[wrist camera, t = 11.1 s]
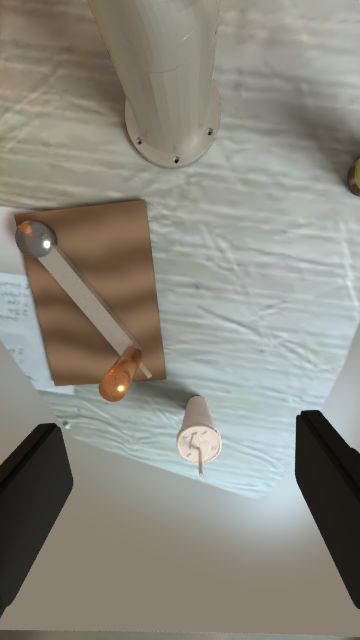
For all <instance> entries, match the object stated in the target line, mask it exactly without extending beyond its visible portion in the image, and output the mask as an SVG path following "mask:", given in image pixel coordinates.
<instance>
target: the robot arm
mask: <svg viewBox="0 0 360 640" xmlns="http://www.w3.org/2000/svg"><path fill="white" fill-rule="evenodd" d="M87 2H88V4H89V7H90V9H91V12H92V14H93V16H94V19H95V21H96V24H97V26H98V28H99V31H100V33H101V36H102V38H103V41H104V43H105V46H106V48H107V51H108V53H109V56H110V58H111V60H112V63H113V65H114V68H115V70H116V73H117V75H118V78H119V80H120V83H121V85H122V88H123V90H124V92H125V95H126V101H125V121H126V126H127V130H128V133H129V135H130V138H131V140H132V142H133V144H134V146H135V147H136V149H137V150H138V151H139V153H140V154H141V155H142V156H143V157H144V158H145V159H146V160H148V161H149V162H151V163H153V164H154V165H157V166H159V167H162V168H169V169H175V168H182V167H185V166H188V165H190V164H192V163H194V162H196V161H197V160H198V159H199V158H201V157H202V156H203V155H204V154H205V152H206V151H207V150H208V149H209V147H210V146H211V144H212V142H213V141H214V138H215V136H216V133H217V130H218V126H219V121H220V112H221V109H220V98H219V93H218V89H217V86H216V84H215V82H214V79H213V78H212V77H213V68H214V59H215V50H216V40H217V31H218V22H219V13H220V4H221V0H87ZM208 133H211V135H208ZM140 142H141V144H140V145H139V143H140ZM176 160H178V163H175V161H176ZM295 476H296V481H297V484H298V486H299V488H300V490H301V492H302V495H303V497H304V499H305V501H306V503H307V505H308V507H309V509H310V512H311V514H312V516H313V518H314V520H315V522H316V524H317V527H318V529H319V530H320V533H321V535H322V537H323V539H324V541H325V544H326V546H327V548H328V550H329V552H330V554H331V556H332V559H333V561H334V563H335V565H336V567H337V569H338V571H339V573H340V576H341V578H342V580H343V582H344V584H345V586H346V588H347V590H348V593H349V595H350V597H351V599H352V601H353V603H354V604H355V606H356V607H357V608H358V609H360V453H359V452H358V451H356V450H355V449H353V448H350V446H349V445H348V444H347V443H346V442H345V441H344V439H343V438H342V437H341V436H340V435H339V433H338V432H337V431H336V430H335V429H334V428H333V426H332V425H331V424H330V423H329V422H328V420H327V419H326V418H325V417H324V416H323V414H322V413H321V412H320V411H319V410H306V411H301V415H297V417H296V449H295ZM72 487H73V477H72V473H71V469H70V464H69V460H68V456H67V452H66V448H65V444H64V440H63V436H62V432H61V429H60V427H57V425H56V424H55V423H45V424H39V425H38V426H37V427H36V428H35V429H34V430H33V431H32V432H31V433H30V434H29V435H28V436H27V437H26V439H24V440H23V442H22V443H21V444H20V445H19V446H18V447H17V448H16V449H15V450H14V451H13V452H12V453H11V454H10V455H9V457H8V458H7V459H6V460H5V461H4V462H3V463H2V464H1V465H0V617H1V615H2V614H3V612H4V610H5V608H6V606H9V605H10V604H11V603H12V602H13V600H14V599H15V597H16V595H17V593H18V591H19V589H20V587H21V586H22V584H23V582H24V580H25V578H26V576H27V574H28V572H29V570H30V569H31V566H32V565H33V563H34V561H35V559H36V557H37V555H38V553H39V551H40V549H41V548H42V546H43V544H44V542H45V540H46V538H47V536H48V534H49V532H50V530H51V529H52V527H53V525H54V523H55V521H56V519H57V517H58V515H59V513H60V511H61V509H62V508H63V506H64V504H65V502H66V500H67V498H68V496H69V494H70V492H71V490H72ZM0 640H360V637H338V636H318V635H292V634H291V635H290V634H247V633H246V634H245V633H200V632H199V633H198V632H196V633H195V632H137V631H135V632H134V631H47V630H45V631H44V630H42V631H40V630H0Z"/></svg>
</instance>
